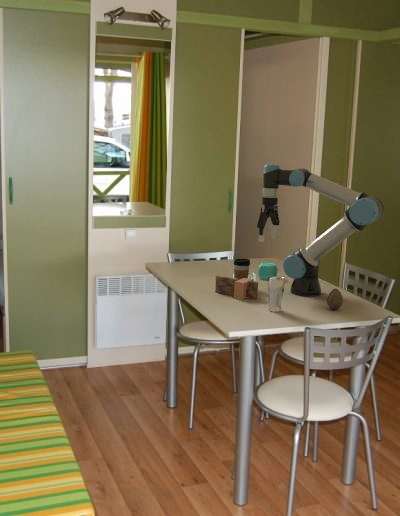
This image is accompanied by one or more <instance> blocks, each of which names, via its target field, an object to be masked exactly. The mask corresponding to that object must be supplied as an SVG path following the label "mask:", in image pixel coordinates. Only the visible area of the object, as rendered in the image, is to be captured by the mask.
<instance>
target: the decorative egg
mask: <svg viewBox="0 0 400 516" xmlns="http://www.w3.org/2000/svg"><path fill="white" fill-rule="evenodd" d="M343 301H344V299H343V295H342V293H341V291H340V290H339V289H338V288H333V289H332V290H331V291H330V292H329V293H328V295H327V298H326V304H327V307H328V308H329V309H331V310H333V311H334V310H335V311H336V309H337V310H339V309H340V308H341V307H342V305H343Z"/></svg>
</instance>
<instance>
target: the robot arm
mask: <svg viewBox="0 0 400 516" xmlns="http://www.w3.org/2000/svg"><path fill="white" fill-rule="evenodd" d="M279 186H285V187H294V188H295V187H298V188H299V187H300V188H301V187H304V188H306V189H308V190H311V191H314V192H316V193H319V194H320V195H322V196H325V197H327V198H329V199H332V200H334V201H336V202H339V203H341V204H343V205H346V206H347V207H349V208H347V209H346V210H345V211H344V215H343V217H342V218H340V219H339V220H338V221H336V222H335V223H334V224H333V225H331V226H330V227H328V229H326V231H324V232H323V233H322V234H320V235H319V236H318V237H316V238H315V239H314V240H313V241H312V242H310V243H309V244H308V245H307V246H304V245H302V246H297V248H296V250H295V251H294V252H293V253H291V254H289V255H287V256H286V257H285V258H284V259H283V262H282V269H283V271H284V273H285V275H286V276H287V277H289V278H291V279H293V281H292V283H291V285H290V293H291V294H293V295H296V296H302V297H303V296H304V297H316V296H320V295H321V294H322V288H321V285H320V284H321V283H320V280H319V272H320V262H321V261H320V260H321V259H322V258H323V257H324V256H326V255H327V254H329V252H331V251H333V250H334V249H335V248H337V246H338V245H340V244H341V243H342V242H344V241H345V240H346V239H348V238H349V237H350V236H352V235H353V234H354V233H355V232H356V231H357V232H362V231H363V230H364V229H366V228H368V226H370V225H371V224H373V223H374V222H376V221H378V220H380V219H381V218H382V217H383V216H384V214H385V213H384V212H385V204H384V201H382V200H381V199H380V198H379V197H376V196H374V195H371V194H369V193H366V192H363V191H362V192H359V191H356V190H353V189H351V188H349V187H346V186H343V185H341V184H339V183H336V182H335V181H332V180H329V179H326V178H324V177H322V176H320V175H317V174H315V173H313V172H310V171H309V169H306V168H297V169H281V167H280V165H279V164H272V163H270V164H267V163H266V164H265V165H264V167H263V177H262V189H261V190H262V198H261V204H262V205H263V206H264V207H260V213H259V217H258V221H257V225H256V228H257V229H259V230H258V242H260V243H265V237H266V236H265V235H266V233H265V232H266V228H265V227H266V224H267V222H268V219H269V218H270V221H271V226H270V227H271V228H270V238H271V239H274V240H275V239H277V233H278V232H277V231H278V226H280V216H279V212H278V201H279Z"/></svg>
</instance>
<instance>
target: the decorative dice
mask: <svg viewBox="0 0 400 516" xmlns="http://www.w3.org/2000/svg"><path fill="white" fill-rule="evenodd" d="M278 271H279V269H278V267H277V265H276V264H275V263H273V262H261V263H260V264H259V266H258V269H257V276H258V277H259V279H260V280H264V281H269V279H270V277H278V276H277V275H278Z"/></svg>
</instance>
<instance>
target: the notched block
mask: <svg viewBox="0 0 400 516" xmlns="http://www.w3.org/2000/svg"><path fill="white" fill-rule="evenodd" d="M250 281H254V279H253V278H249V277H248V278H243V279H240V280H237V281H235V284H234V295H233V298H234V299H239V300H245V299H247V298H246V290H247V289H249V282H250Z"/></svg>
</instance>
